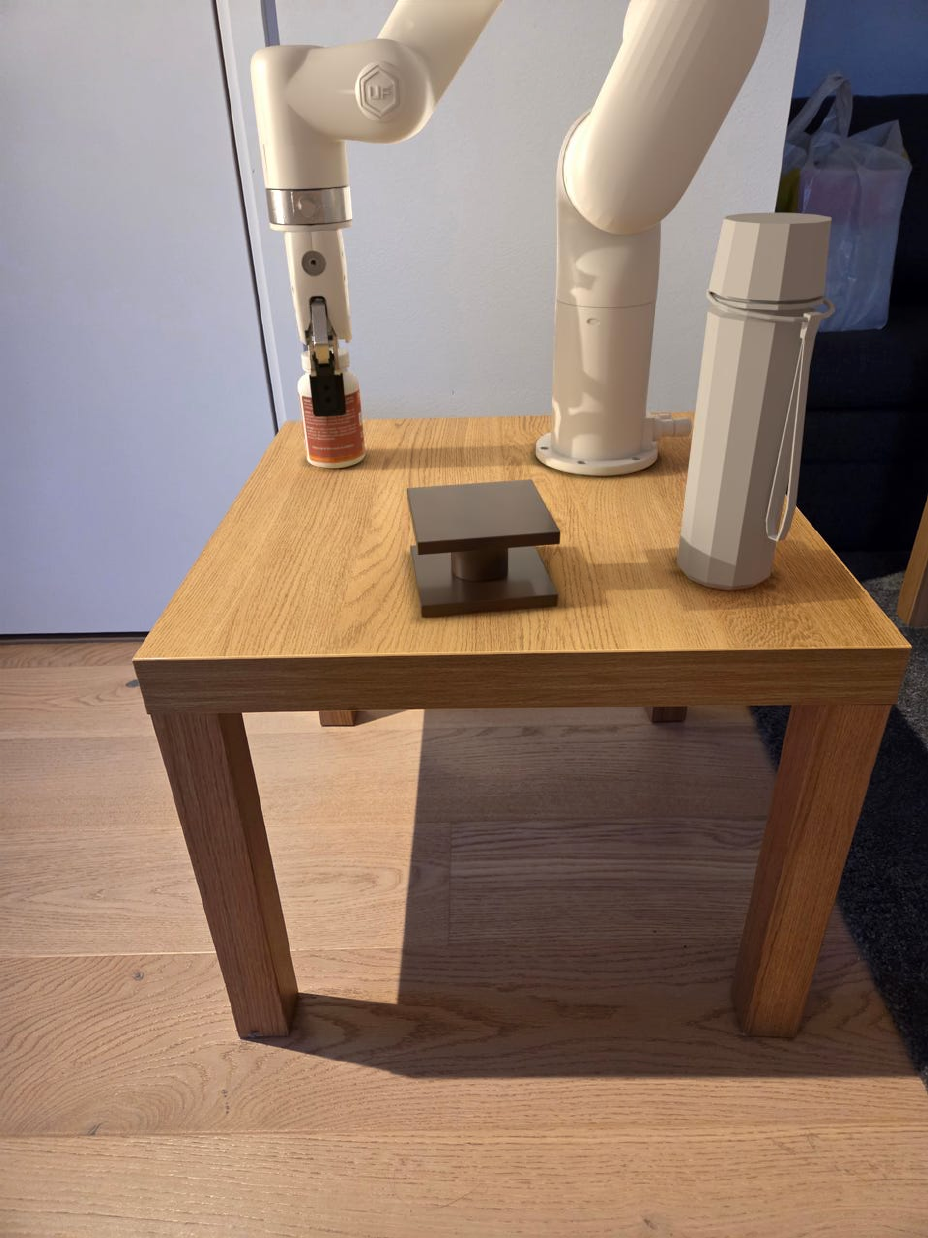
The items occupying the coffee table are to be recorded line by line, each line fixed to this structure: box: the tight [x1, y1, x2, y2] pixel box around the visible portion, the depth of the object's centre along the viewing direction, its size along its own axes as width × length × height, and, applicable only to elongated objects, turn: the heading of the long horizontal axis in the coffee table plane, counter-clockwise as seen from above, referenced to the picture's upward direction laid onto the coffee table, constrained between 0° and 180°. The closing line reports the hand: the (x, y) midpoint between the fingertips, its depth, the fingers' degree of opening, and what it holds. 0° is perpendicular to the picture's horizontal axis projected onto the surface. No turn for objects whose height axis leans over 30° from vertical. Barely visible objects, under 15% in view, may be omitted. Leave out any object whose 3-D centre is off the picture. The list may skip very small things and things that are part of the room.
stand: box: [406, 478, 561, 619], centre depth 64 cm, size 10×10×6 cm
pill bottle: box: [297, 347, 366, 469], centre depth 86 cm, size 6×6×11 cm
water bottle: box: [676, 212, 836, 591], centre depth 58 cm, size 9×8×25 cm
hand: (330, 402), depth 86 cm, fingers open, 6 cm apart
